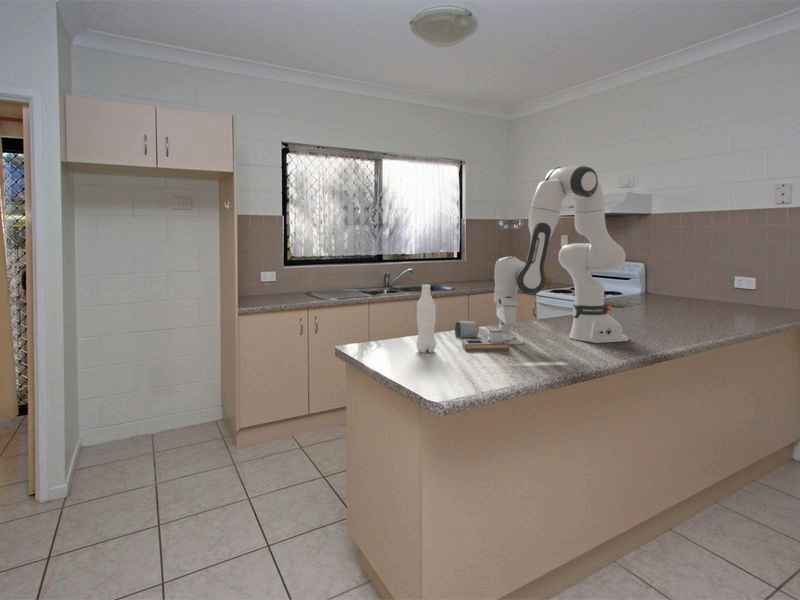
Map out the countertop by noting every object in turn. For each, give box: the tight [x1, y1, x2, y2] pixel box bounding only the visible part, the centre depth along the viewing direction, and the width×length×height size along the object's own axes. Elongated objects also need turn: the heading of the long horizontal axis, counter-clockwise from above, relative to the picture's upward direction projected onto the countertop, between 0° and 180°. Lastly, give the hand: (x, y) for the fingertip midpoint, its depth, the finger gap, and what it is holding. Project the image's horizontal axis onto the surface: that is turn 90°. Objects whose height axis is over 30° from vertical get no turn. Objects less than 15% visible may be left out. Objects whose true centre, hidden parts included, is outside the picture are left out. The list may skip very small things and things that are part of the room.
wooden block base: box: [461, 338, 510, 352], centre depth 183 cm, size 16×8×4 cm, turn 91°
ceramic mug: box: [454, 320, 479, 339], centre depth 206 cm, size 11×8×8 cm
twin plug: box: [489, 328, 503, 343], centre depth 183 cm, size 4×4×7 cm
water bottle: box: [415, 284, 437, 354], centre depth 182 cm, size 7×7×25 cm
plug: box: [498, 320, 512, 341], centre depth 195 cm, size 4×4×7 cm
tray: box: [487, 335, 525, 345], centre depth 195 cm, size 12×10×2 cm
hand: (505, 332), depth 195 cm, fingers closed on plug, 4 cm apart
